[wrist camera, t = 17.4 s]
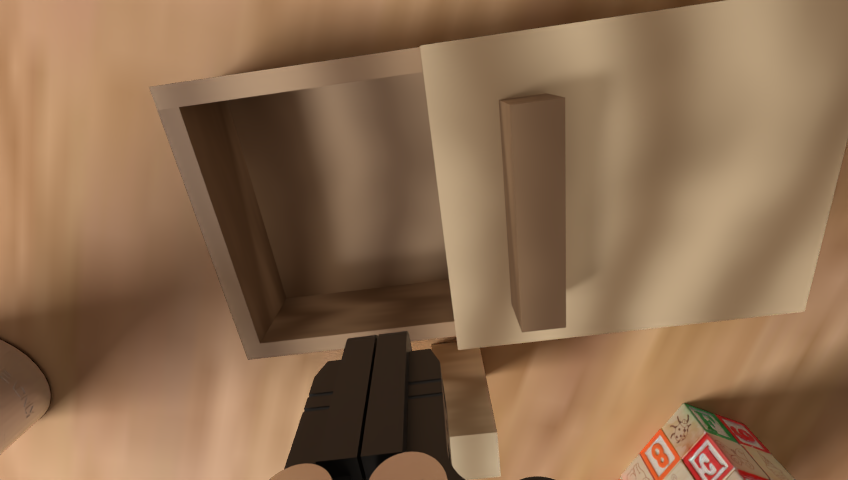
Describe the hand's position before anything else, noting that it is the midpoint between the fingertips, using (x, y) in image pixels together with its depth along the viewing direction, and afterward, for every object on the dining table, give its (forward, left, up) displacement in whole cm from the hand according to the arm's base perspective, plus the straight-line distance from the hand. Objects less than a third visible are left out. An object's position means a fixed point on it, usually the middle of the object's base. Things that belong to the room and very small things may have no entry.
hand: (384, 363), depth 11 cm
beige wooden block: (+2, -14, -17) cm, 22 cm away
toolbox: (+2, 0, -17) cm, 17 cm away
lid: (+11, 0, -11) cm, 16 cm away
